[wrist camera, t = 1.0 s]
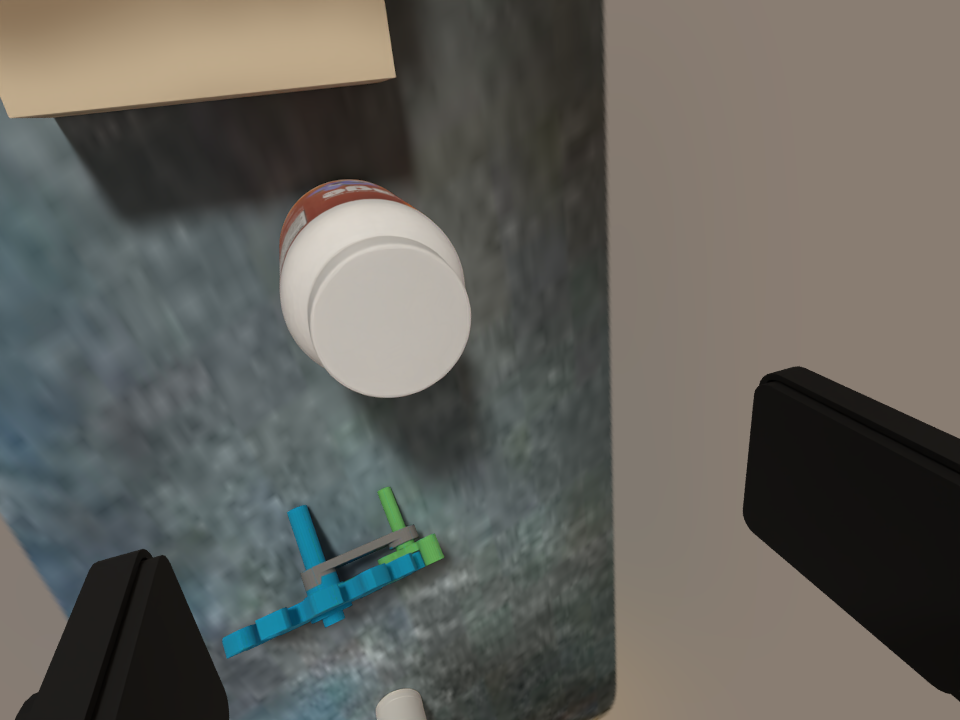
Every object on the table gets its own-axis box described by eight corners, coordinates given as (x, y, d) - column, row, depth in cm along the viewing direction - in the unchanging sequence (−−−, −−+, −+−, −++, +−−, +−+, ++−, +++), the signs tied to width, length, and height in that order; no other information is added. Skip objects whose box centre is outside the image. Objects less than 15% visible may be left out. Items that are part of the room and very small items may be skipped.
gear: (245, 664, 31) (206, 684, 22) (215, 558, 33) (167, 536, 24) (433, 575, 35) (465, 561, 26) (397, 484, 36) (415, 442, 28)
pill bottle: (437, 209, 27) (531, 262, 17) (390, 328, 28) (451, 440, 18) (304, 152, 24) (325, 177, 14) (259, 288, 26) (251, 394, 16)
